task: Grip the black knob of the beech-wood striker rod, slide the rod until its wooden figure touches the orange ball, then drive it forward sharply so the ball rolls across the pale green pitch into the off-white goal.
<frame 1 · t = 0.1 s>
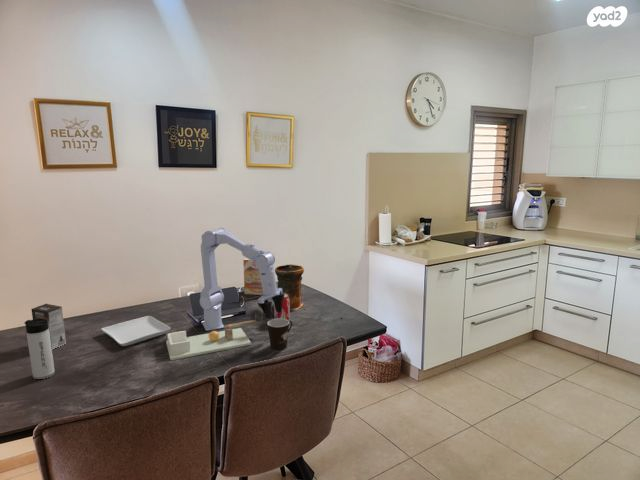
hand: (274, 314, 169), 10 cm above the table, tool pointing down, fingers open, 7 cm apart
coffee box: (51, 346, 165), on the table
goal: (180, 349, 162), resting on pitch
striker rod: (244, 323, 171), point 6 cm above the table, slide at 0.0 cm
soda can: (282, 320, 191), on the table
coffeecake box: (259, 293, 229), on the table
travel mug: (43, 376, 142), on the table
salad plate: (136, 335, 175), on the table
coffee mug: (282, 346, 165), on the table
ball: (213, 335, 167), point 3 cm above the table, touching pitch
vessel: (289, 306, 209), on the table
pitch: (208, 343, 166), on the table
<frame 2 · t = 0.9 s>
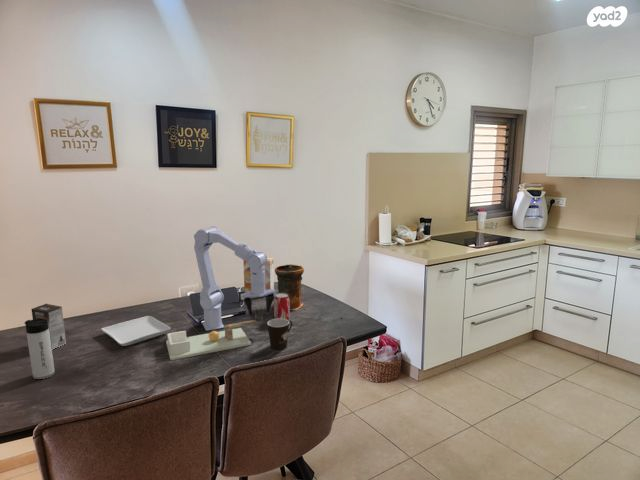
hand: (259, 313, 173), 9 cm above the table, tool pointing down, fingers open, 7 cm apart
nothing on the table moved.
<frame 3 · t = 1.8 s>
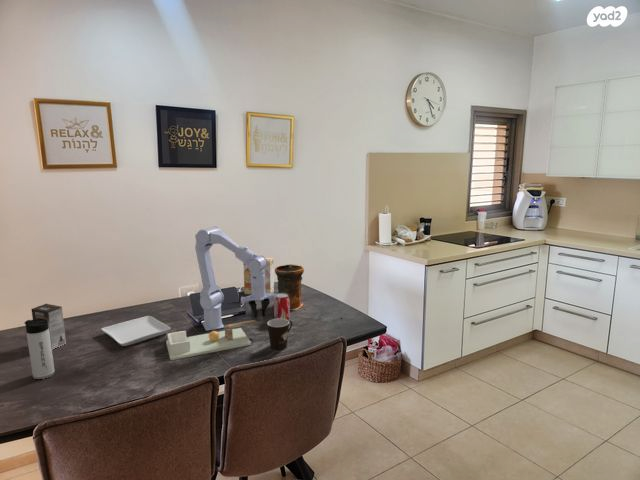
hand: (259, 316, 174), 8 cm above the table, tool pointing down, fingers closed on striker rod, 3 cm apart
striker rod: (244, 323, 171), point 6 cm above the table, slide at 0.0 cm, touching gripper
everything else where it was.
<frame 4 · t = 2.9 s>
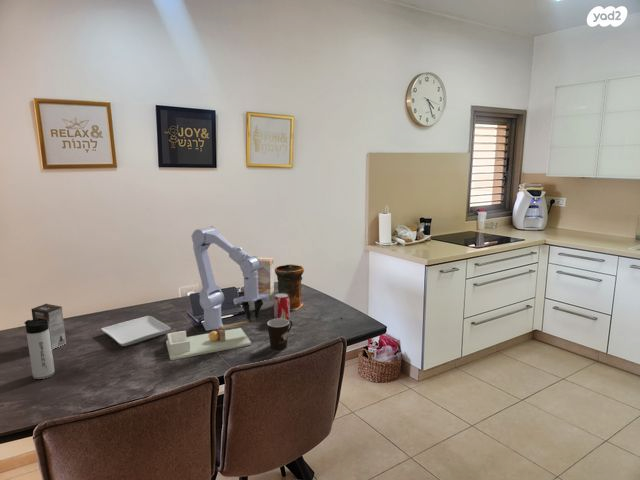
hand: (252, 318, 172), 8 cm above the table, tool pointing down, fingers closed on striker rod, 3 cm apart
striker rod: (237, 324, 170), point 6 cm above the table, slide at 3.0 cm, touching gripper
everything else where it was.
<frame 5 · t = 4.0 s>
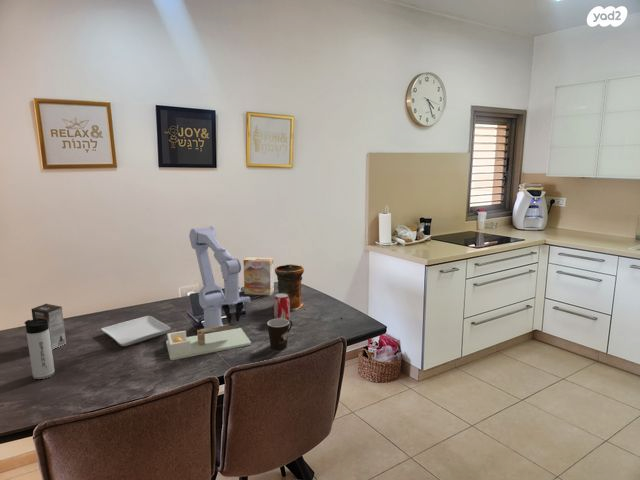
hand: (233, 321, 169), 8 cm above the table, tool pointing down, fingers closed on striker rod, 3 cm apart
striker rod: (217, 327, 167), point 6 cm above the table, slide at 11.0 cm, touching gripper
ball: (177, 342, 161), point 3 cm above the table, tilted 31°, touching pitch
everything else where it was.
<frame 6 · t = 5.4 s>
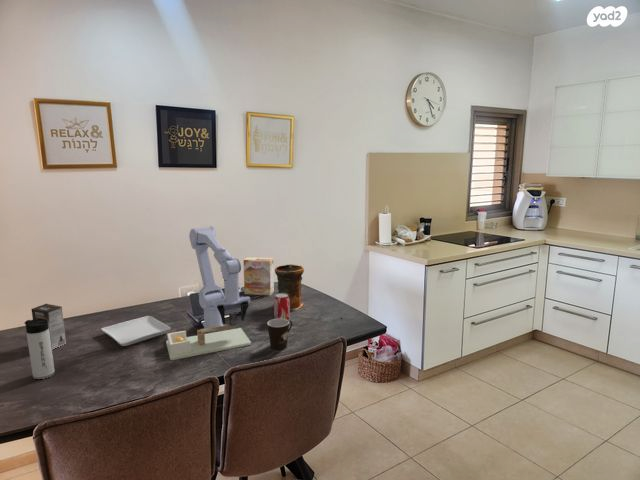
hand: (233, 321, 169), 8 cm above the table, tool pointing down, fingers open, 7 cm apart
striker rod: (217, 327, 167), point 6 cm above the table, slide at 11.0 cm
ball: (179, 342, 161), point 3 cm above the table, tilted 13°, touching pitch
everything else where it was.
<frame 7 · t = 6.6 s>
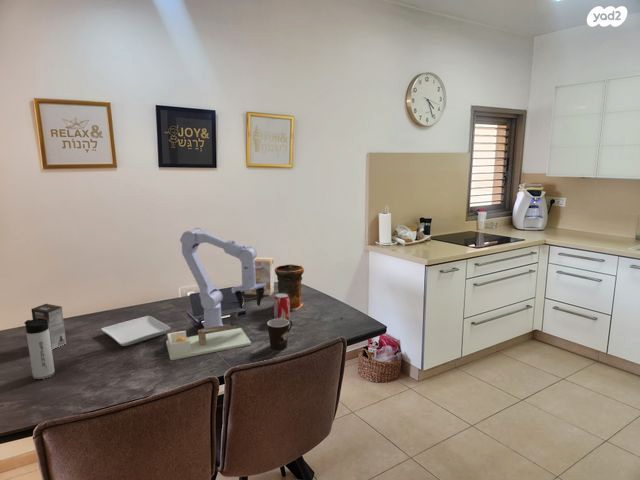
hand: (249, 306, 179), 10 cm above the table, tool pointing down, fingers open, 7 cm apart
striker rod: (218, 327, 167), point 6 cm above the table, slide at 10.6 cm
ball: (180, 341, 161), point 3 cm above the table, touching pitch
everything else where it was.
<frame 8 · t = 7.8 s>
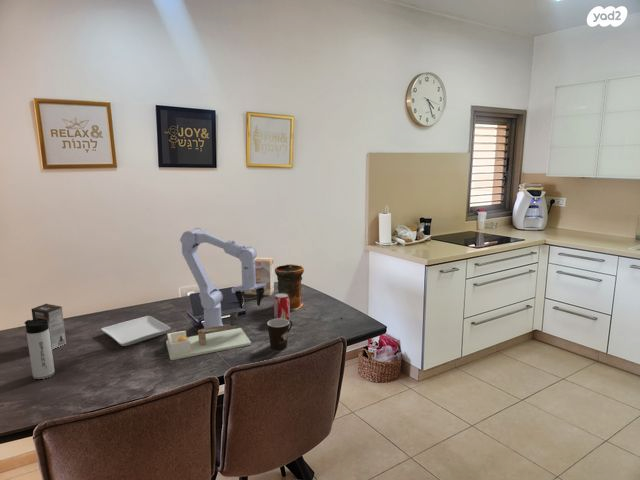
hand: (249, 306, 179), 10 cm above the table, tool pointing down, fingers open, 7 cm apart
ball: (182, 341, 162), point 3 cm above the table, tilted 19°, touching pitch
everything else where it was.
at the end: ball inside the target area (0.8 cm from its centre), point 3.0 cm above the table; striker rod slide at 10.6 cm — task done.
